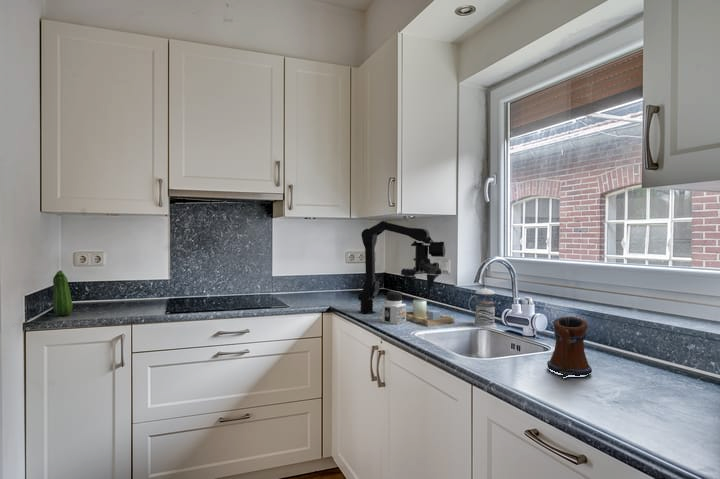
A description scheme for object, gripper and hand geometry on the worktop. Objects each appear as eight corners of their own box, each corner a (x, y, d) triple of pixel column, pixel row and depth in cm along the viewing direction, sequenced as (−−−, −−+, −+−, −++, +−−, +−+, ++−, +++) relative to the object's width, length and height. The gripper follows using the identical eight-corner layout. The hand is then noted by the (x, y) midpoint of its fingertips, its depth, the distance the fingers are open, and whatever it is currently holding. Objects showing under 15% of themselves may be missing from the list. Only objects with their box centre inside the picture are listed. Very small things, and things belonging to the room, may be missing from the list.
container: (396, 324, 186) (397, 293, 185) (381, 322, 190) (381, 291, 190) (406, 321, 192) (406, 291, 191) (391, 319, 196) (391, 290, 196)
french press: (498, 328, 181) (499, 266, 181) (468, 326, 183) (469, 266, 183) (495, 323, 191) (496, 265, 190) (467, 321, 193) (468, 264, 192)
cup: (410, 315, 201) (410, 299, 201) (421, 314, 204) (421, 299, 204) (417, 318, 196) (418, 302, 196) (428, 317, 199) (429, 301, 198)
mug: (585, 388, 112) (587, 329, 112) (537, 379, 119) (538, 323, 118) (594, 370, 127) (595, 318, 127) (551, 363, 134) (552, 313, 133)
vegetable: (71, 316, 194) (71, 270, 194) (51, 317, 191) (51, 271, 190) (73, 313, 200) (73, 269, 200) (54, 314, 197) (54, 269, 197)
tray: (400, 317, 201) (400, 312, 201) (425, 315, 208) (425, 310, 208) (427, 326, 183) (427, 320, 183) (454, 323, 190) (454, 318, 190)
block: (427, 320, 192) (427, 310, 192) (434, 319, 194) (434, 310, 194) (433, 321, 188) (433, 312, 188) (440, 320, 190) (440, 311, 190)
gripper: (415, 257, 190) (414, 294, 191) (449, 256, 199) (448, 291, 200) (400, 256, 200) (400, 290, 201) (433, 255, 209) (433, 288, 209)
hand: (421, 290), depth 202 cm, fingers open, 9 cm apart
